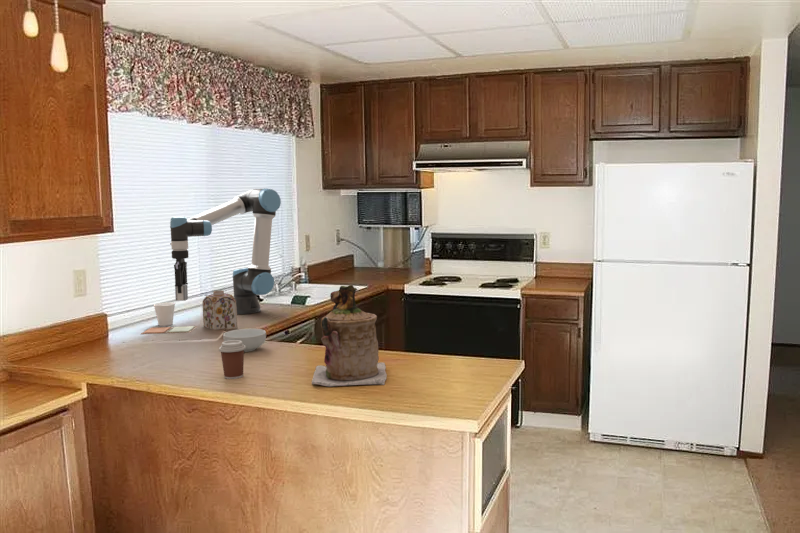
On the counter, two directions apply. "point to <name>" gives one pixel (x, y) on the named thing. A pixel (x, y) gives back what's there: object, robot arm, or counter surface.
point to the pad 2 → (182, 329)
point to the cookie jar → (349, 344)
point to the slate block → (185, 292)
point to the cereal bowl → (247, 337)
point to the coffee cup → (232, 358)
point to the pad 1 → (157, 330)
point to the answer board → (169, 330)
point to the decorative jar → (220, 311)
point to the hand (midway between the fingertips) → (182, 299)
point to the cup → (164, 313)
